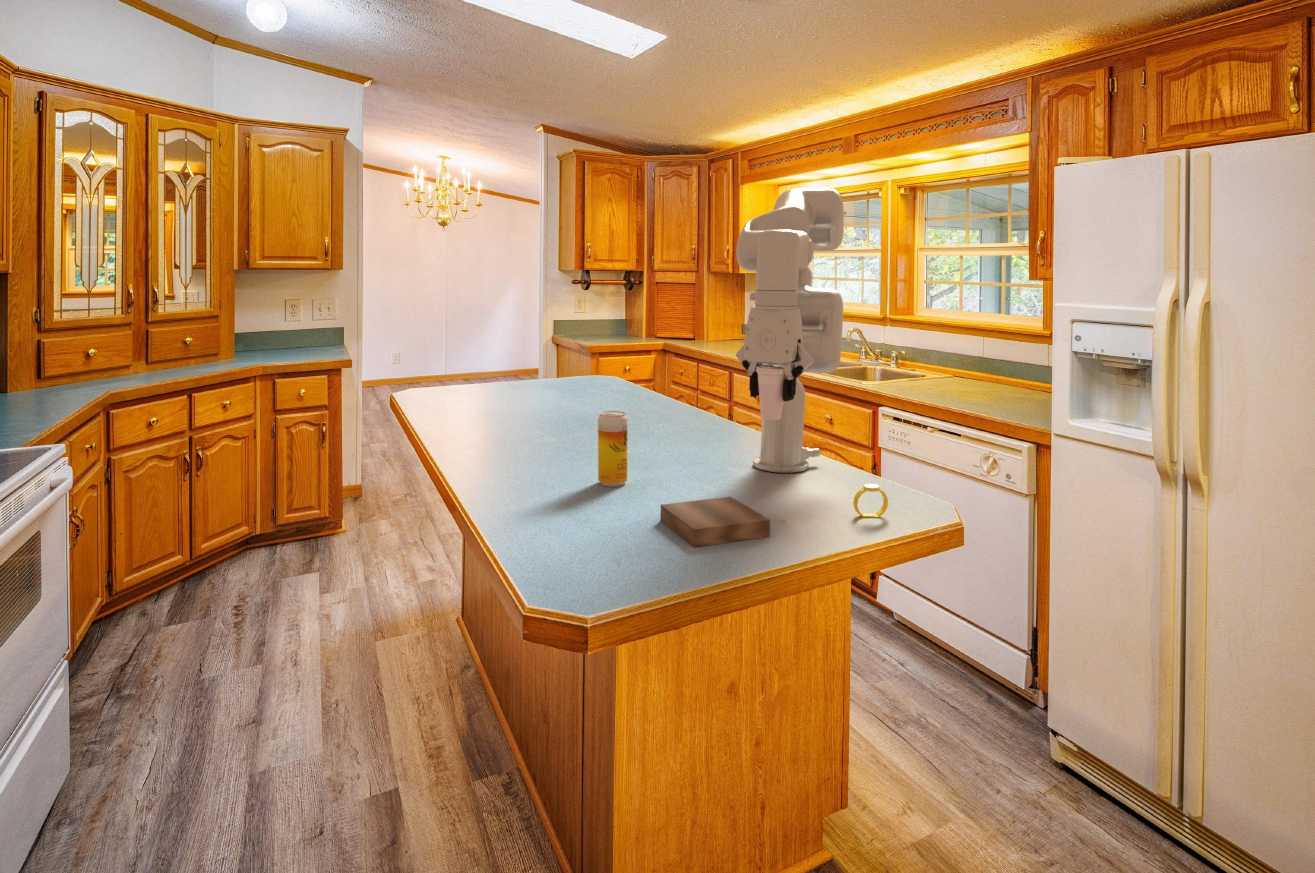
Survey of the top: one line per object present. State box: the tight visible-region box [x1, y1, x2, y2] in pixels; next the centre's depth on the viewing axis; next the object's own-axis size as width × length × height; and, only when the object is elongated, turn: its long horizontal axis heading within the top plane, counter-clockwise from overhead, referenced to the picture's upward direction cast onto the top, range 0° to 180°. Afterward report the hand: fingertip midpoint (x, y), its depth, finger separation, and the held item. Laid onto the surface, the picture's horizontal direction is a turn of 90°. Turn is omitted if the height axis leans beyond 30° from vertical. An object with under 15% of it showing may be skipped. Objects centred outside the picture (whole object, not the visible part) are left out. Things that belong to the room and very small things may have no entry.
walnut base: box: [660, 496, 771, 548], centre depth 126 cm, size 14×14×3 cm
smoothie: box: [756, 364, 786, 420], centre depth 135 cm, size 6×6×14 cm
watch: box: [853, 483, 889, 518], centre depth 133 cm, size 6×3×6 cm, turn 93°
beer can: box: [597, 410, 629, 488], centre depth 151 cm, size 6×6×15 cm
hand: (771, 397), depth 136 cm, fingers closed on smoothie, 6 cm apart
